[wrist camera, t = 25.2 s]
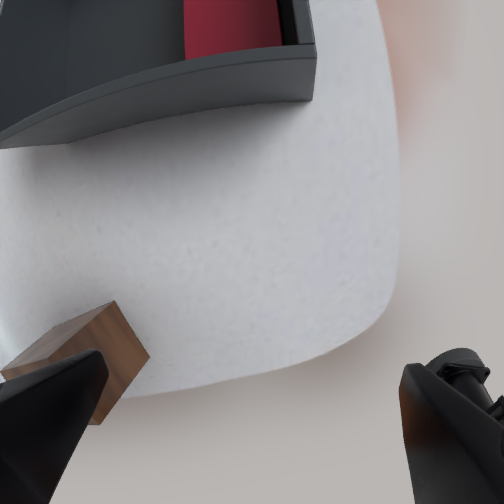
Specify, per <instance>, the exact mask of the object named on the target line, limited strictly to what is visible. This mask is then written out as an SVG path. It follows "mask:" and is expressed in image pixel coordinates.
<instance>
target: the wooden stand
mask: <svg viewBox="0 0 504 504" xmlns="http://www.w3.org/2000/svg"><path fill="white" fill-rule="evenodd" d="M87 349H96V350H100V351H101V352H102V353H103V355H104V358H105V361H106V363H107V366H108V368H109V378H108V380H107V383H106V385H105V387H104V390H103V392H102V395H101V397H100V399H99V402H98V404H97V407H96V409H95V411H94V413H93V415H92V417H91V419H90V421H89V423H88V425H100V424H101V423H102V421H103V420H104V419H105V417H106V416H107V415H108V413H109V412H110V410H111V409H112V408H113V406H114V405H115V404H116V402H117V401H118V400H119V398H120V397H121V396H122V394H123V393H124V391H125V390H126V389H127V387H128V386H129V385H130V383H131V382H132V381H133V379H134V378H135V377H136V375H137V374H138V373H139V371H140V370H141V369H142V367H143V366H144V364H145V363H146V362H147V360H148V359H149V358H150V356H149V355H148V353H147V352H146V350H145V349H144V347H143V346H142V344H141V343H140V341H139V340H138V338H137V337H136V335H135V334H134V332H133V330H132V329H131V327H130V326H129V324H128V322H127V321H126V319H125V317H124V316H123V314H122V313H121V311H120V309H119V307H118V306H117V304H116V302H115V301H112V302H110V303H108V304H106V305H103V306H101V307H99V308H96V309H94V310H92V311H90V312H87V313H85V314H83V315H81V316H78V317H76V318H74V319H72V320H69V321H67V322H65V323H63V324H60V325H58V326H56V327H54V328H52V329H51V330H50V331H48V332H47V333H46V334H45V335H43V336H42V337H41V338H39V339H38V340H37V341H36V342H35V343H33V344H32V345H31V346H30V347H28V348H27V349H26V350H25V351H23V352H22V353H21V354H20V355H19V356H17V357H16V358H15V359H14V360H13V361H11V362H10V363H9V364H8V365H7V366H5V367H4V368H3V369H2V370H1V371H0V373H1V374H2V376H3V377H4V379H5V380H6V381H8V380H11V379H13V378H16V377H19V376H21V375H24V374H26V373H29V372H32V371H34V370H37V369H39V368H42V367H45V366H47V365H50V364H52V363H55V362H57V361H60V360H62V359H65V358H67V357H70V356H72V355H75V354H77V353H80V352H82V351H85V350H87Z"/></svg>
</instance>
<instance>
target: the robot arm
mask: <svg viewBox="0 0 504 504" xmlns="http://www.w3.org/2000/svg"><path fill="white" fill-rule="evenodd" d="M489 374H490V369H489V368H488V367H479V366H471V365H464V364H456V363H449V362H447V363H444V364H443V365H442V366H441V368H440V370H439V371H438V373H437V375H436V374H434V373H433V372H432V371H430V370H429V369H428V368H426V367H425V366H423V365H422V364H421V363H412V364H407V365H406V366H405V367H404V371H403V375H402V378H401V382H400V386H399V400H400V408H401V416H402V427H403V438H404V444H405V449H406V454H407V460H408V464H409V470H410V476H411V481H412V487H413V494H414V500H415V504H504V396H503V395H502V396H500V397H499V398H498V400H497V401H496V402H495V403H493V401H492V399H491V397H490V396H489V394H488V392H487V390H486V388H485V387H484V385H483V383H484V382H485V380H486V379H487V377H488V376H489ZM108 378H109V368H108V366H107V363H106V361H105V358H104V355H103V353H102V352H101V351H100V350H96V349H87V350H85V351H82V352H80V353H77V354H75V355H72V356H70V357H67V358H65V359H62V360H60V361H57V362H55V363H52V364H50V365H47V366H45V367H42V368H39V369H37V370H34V371H32V372H29V373H26V374H24V375H21V376H19V377H16V378H13V379H11V380H8V381H5V382H4V383H0V504H49V502H50V500H51V498H52V496H53V494H54V491H55V489H56V487H57V485H58V483H59V481H60V479H61V476H62V474H63V472H64V470H65V468H66V466H67V464H68V462H69V460H70V458H71V456H72V454H73V452H74V450H75V448H76V446H77V444H78V442H79V440H80V438H81V436H82V434H83V433H84V431H85V429H86V427H87V425H88V423H89V421H90V419H91V417H92V415H93V413H94V411H95V409H96V407H97V404H98V402H99V399H100V397H101V395H102V392H103V390H104V387H105V385H106V383H107V380H108Z"/></svg>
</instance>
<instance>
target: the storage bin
mask: <svg viewBox="0 0 504 504" xmlns="http://www.w3.org/2000/svg"><path fill="white" fill-rule="evenodd" d="M280 7H281V15H282V22H283V30H284V38H285V46H275V47H264V48H255V49H247V50H239V51H233V52H226V53H220V54H214V55H209V56H203V57H198V58H194V59H189V60H185V41H184V3H183V0H1V2H0V149H8V148H17V147H28V146H40V145H55V144H68V143H71V142H74V141H77V140H80V139H83V138H87V137H90V136H93V135H97V134H100V133H104V132H107V131H111V130H115V129H118V128H122V127H126V126H130V125H134V124H139V123H143V122H147V121H152V120H156V119H161V118H166V117H171V116H176V115H182V114H187V113H193V112H199V111H206V110H212V109H219V108H227V107H235V106H244V105H253V104H264V103H276V102H291V101H312V100H313V91H314V83H315V73H316V64H317V52H316V46H315V37H314V31H313V24H312V18H311V12H310V6H309V0H280Z"/></svg>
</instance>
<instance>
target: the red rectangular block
mask: <svg viewBox="0 0 504 504" xmlns="http://www.w3.org/2000/svg"><path fill="white" fill-rule="evenodd" d="M183 3H184V41H185V60H189V59H194V58H198V57H203V56H209V55H214V54H220V53H226V52H233V51H239V50H247V49H255V48H264V47H275V46H285V38H284V30H283V22H282V15H281V7H280V0H183Z"/></svg>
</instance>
